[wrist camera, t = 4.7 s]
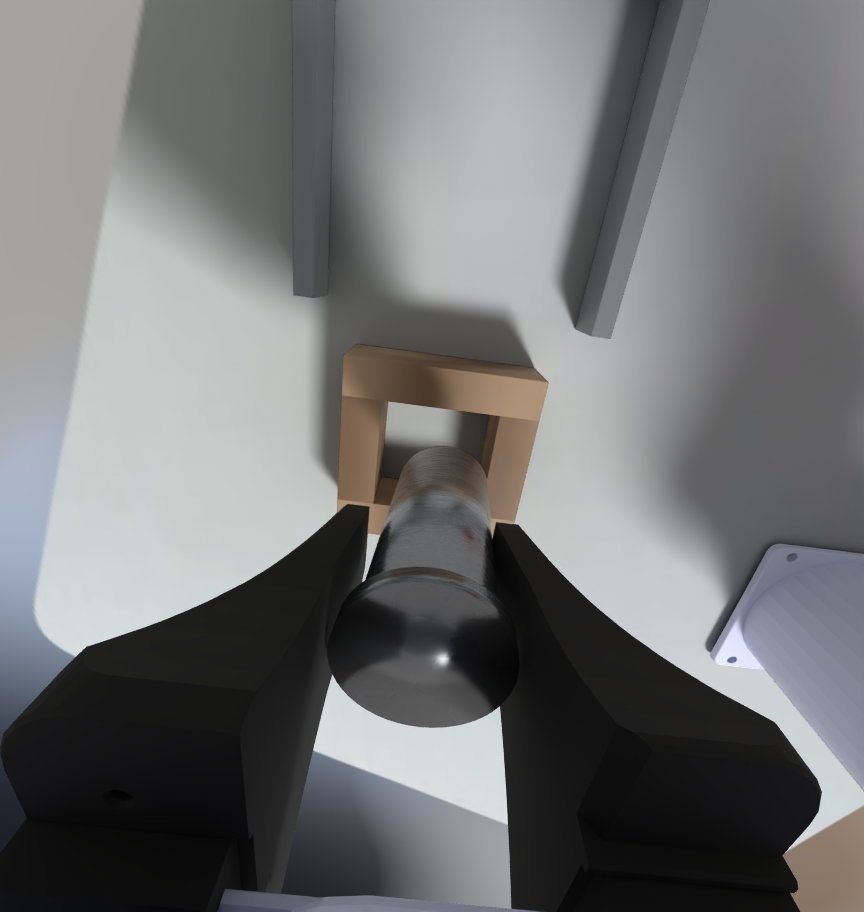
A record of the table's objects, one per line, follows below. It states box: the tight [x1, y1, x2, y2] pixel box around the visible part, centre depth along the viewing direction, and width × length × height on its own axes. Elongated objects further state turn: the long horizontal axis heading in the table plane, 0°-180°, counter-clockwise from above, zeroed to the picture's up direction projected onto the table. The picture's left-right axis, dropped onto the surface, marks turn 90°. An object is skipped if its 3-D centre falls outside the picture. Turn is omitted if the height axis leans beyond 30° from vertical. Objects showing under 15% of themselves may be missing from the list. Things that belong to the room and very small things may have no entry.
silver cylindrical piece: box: [327, 446, 520, 728], centre depth 11 cm, size 4×4×7 cm
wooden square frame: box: [337, 344, 549, 538], centre depth 18 cm, size 8×8×2 cm
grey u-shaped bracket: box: [292, 0, 710, 339], centre depth 14 cm, size 11×11×2 cm
